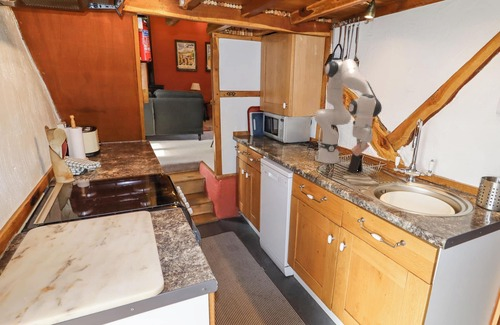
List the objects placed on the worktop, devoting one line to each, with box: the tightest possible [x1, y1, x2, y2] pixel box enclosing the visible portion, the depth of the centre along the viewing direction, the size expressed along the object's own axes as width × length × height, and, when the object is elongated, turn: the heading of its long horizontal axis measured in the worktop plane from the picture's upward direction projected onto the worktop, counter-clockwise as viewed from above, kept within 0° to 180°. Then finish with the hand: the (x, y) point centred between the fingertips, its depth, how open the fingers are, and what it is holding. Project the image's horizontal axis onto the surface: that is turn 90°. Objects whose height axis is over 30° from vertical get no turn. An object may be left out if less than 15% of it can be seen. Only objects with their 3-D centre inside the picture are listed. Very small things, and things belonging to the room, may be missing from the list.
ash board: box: [342, 174, 379, 187], centre depth 169 cm, size 15×16×1 cm
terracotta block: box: [350, 140, 370, 156], centre depth 163 cm, size 4×4×9 cm
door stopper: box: [347, 152, 363, 174], centre depth 187 cm, size 9×6×12 cm, turn 128°
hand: (360, 147), depth 163 cm, fingers closed on terracotta block, 4 cm apart
